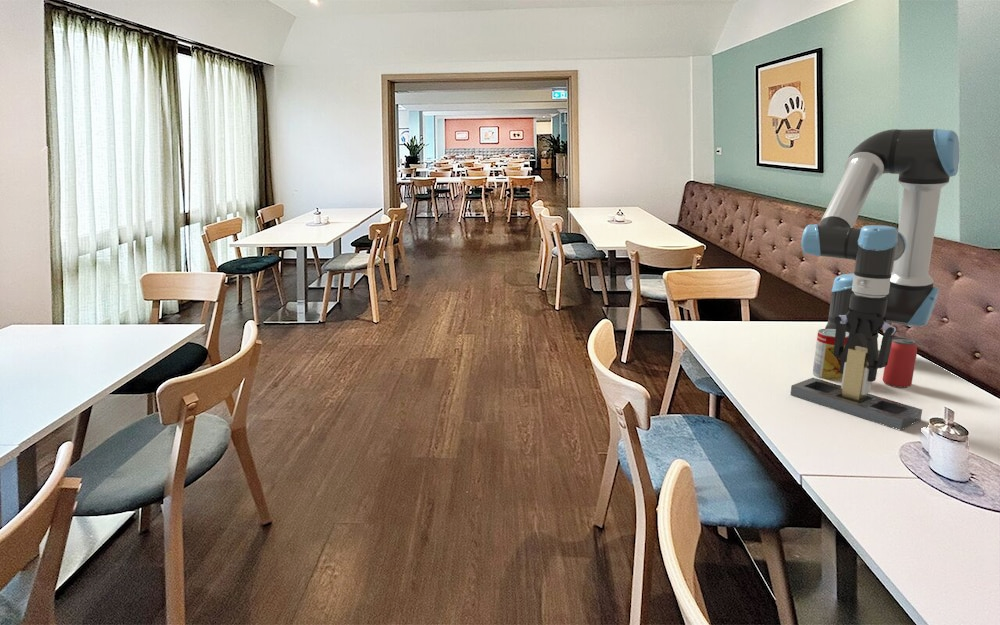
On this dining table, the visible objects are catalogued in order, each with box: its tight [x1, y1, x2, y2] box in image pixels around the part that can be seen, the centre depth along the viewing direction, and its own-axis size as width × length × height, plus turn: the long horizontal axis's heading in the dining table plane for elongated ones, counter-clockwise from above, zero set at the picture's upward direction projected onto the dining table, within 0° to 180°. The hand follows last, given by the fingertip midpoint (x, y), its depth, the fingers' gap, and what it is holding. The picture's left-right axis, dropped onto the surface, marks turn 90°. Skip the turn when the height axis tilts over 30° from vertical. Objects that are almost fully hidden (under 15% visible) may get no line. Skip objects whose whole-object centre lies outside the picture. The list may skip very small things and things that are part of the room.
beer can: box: [882, 336, 918, 389], centre depth 176 cm, size 7×7×12 cm
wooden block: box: [841, 346, 869, 402], centre depth 160 cm, size 4×4×12 cm
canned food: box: [812, 328, 849, 381], centre depth 182 cm, size 8×8×12 cm
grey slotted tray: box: [790, 377, 923, 431], centre depth 162 cm, size 10×26×2 cm, turn 37°
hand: (855, 390), depth 161 cm, fingers closed on wooden block, 4 cm apart
